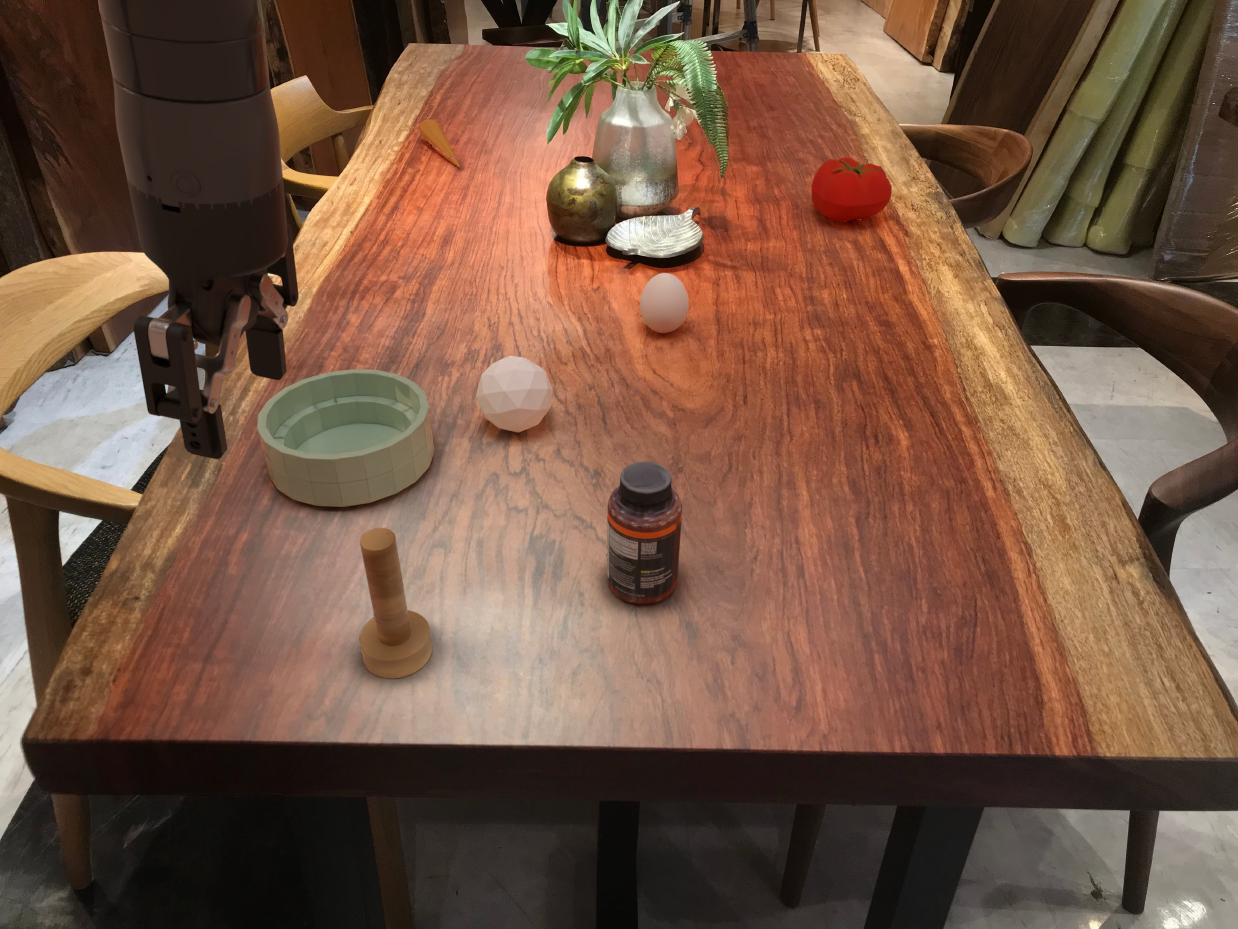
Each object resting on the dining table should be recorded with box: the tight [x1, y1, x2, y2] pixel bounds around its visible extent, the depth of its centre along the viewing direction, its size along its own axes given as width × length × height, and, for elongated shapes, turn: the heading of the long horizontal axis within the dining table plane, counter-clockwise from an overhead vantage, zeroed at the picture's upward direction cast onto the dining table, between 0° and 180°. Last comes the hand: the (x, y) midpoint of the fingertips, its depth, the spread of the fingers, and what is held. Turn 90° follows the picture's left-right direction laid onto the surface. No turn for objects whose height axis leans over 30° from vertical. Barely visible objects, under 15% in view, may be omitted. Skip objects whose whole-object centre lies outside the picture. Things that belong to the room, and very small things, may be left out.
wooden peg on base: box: [358, 527, 433, 679], centre depth 65 cm, size 5×5×12 cm
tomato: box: [810, 157, 893, 223], centre depth 143 cm, size 14×13×9 cm
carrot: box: [418, 118, 461, 169], centre depth 166 cm, size 20×4×4 cm, turn 26°
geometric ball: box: [475, 355, 554, 433], centre depth 92 cm, size 8×8×8 cm
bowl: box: [256, 368, 435, 508], centre depth 86 cm, size 16×16×6 cm
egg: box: [639, 272, 690, 334], centre depth 110 cm, size 6×6×8 cm
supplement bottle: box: [606, 461, 683, 605], centre depth 72 cm, size 6×6×11 cm
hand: (240, 412), depth 57 cm, fingers open, 8 cm apart
